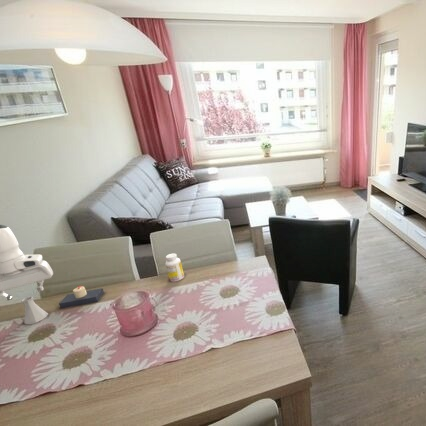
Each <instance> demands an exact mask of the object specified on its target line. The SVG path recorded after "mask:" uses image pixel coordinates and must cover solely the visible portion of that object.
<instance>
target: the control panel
mask: <svg viewBox="0 0 426 426" xmlns="http://www.w3.org/2000/svg"><path fill="white" fill-rule="evenodd" d="M86 293H87V294H86V295H85V296H84V297H81V298H76V297H75V295H74V292H72V293H68V294H66V295H65V296H64V298H63V299H61V300H60V302H59V303H58V305H59V308H60V309H66V308H72V307H77V306H83V305H88V304H93V303H98V302H99V301H100V299H101V298H102V297H103V295H104V294H105V291H104V288H102V287H101V288H96V289H90V290H86Z"/></svg>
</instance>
